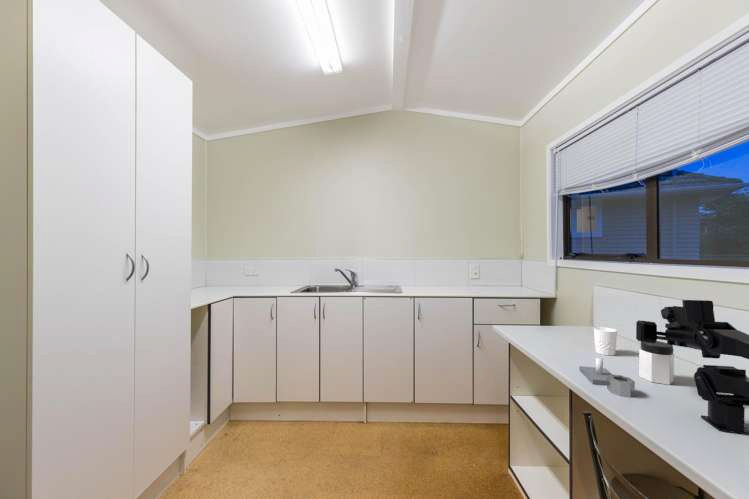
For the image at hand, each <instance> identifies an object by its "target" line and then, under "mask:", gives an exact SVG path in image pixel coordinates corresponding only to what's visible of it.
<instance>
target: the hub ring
mask: <svg viewBox="0 0 749 499" xmlns="http://www.w3.org/2000/svg"><path fill="white" fill-rule="evenodd" d="M635 382H636V381H635V380H633V379H632V378H631V377H628V376H624V375H620V374H613V375H612V373H611V375H608V376H607V386H606V389H607V391H608V392H610V393H611V394H614V395H616V396H619V397H628V398H631V397H634V396H636V393H635V392H636V390H635V389H636V388H635V386H636V385H635V384H636V383H635Z"/></svg>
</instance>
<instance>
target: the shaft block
mask: <svg viewBox="0 0 749 499" xmlns="http://www.w3.org/2000/svg"><path fill="white" fill-rule="evenodd" d="M578 368H579V372H580V373H581V374H582V375H583V376H584V377H585V378H586V379H587V381H589V382H590V383H591V385H597V386H606V387H607V376H608V375H611V374H612V373H611V372H610V371H609V370H608V369H606V368H605V367H604V359H603V358H601V357H596V358H595V367H592V366H583V365H582V366H581V365H580V366H579V367H578ZM612 375H614V373H613V374H612Z"/></svg>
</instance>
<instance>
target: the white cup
mask: <svg viewBox="0 0 749 499" xmlns="http://www.w3.org/2000/svg"><path fill="white" fill-rule="evenodd" d="M617 337H618V330H617V329H615V328H611V327H606V326H605V327H604V326H594V327H593V339H594V340H593V341H594V352H595V353H596V354H599V355H602V356H609V357H610V356H611V357H612V356H615V355H616V352H617V351H616V348H617V341H618V340H617V339H618V338H617Z"/></svg>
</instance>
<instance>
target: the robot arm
mask: <svg viewBox="0 0 749 499" xmlns="http://www.w3.org/2000/svg"><path fill="white" fill-rule="evenodd" d="M681 303H682V306H678V305H673V306H664V308H662V309H661V310H660V314H661V318H662V319H663V320H666V321H667V322H668V323H665V326H664V327H665V331H658V330H657V329H658V326H657V323H656V322H655V321H649V320H648V321H647V320H637V321H636V323H635V324H636V327H635V329H636V330H635V331H636V332H635V335H636V336H635V339H636V340H637V341H638V342H641V341H642V342H649V343H655V342H656V341H658V340H661V341H666V343H667V344H668V345H672V346H675V347H682V348H689V349H693V350H697V351H700V352H701V357H702V358H705V359H720V358H721V355H724V356H732V357H733V356H734V357H740V358H743V359H747V360H749V334H748V333H745V332H743V331H742V330H739V329H737V328H736V327H734V326H733V325H732V324H730V323H729V322H728V321H716V318H715V311H714V302H713V301H712V300H705V299H704V300H701V299H699V300H698V299H695V300H694V299H682V300H681ZM693 374H694V375H693V378H694V379H693V380H694V383H695V386H696V391H697V395H698V396H699V397H701V400H704V401H707V415H703V414H702V415H700V418H701V419H702V420H704V421H705V422H706V423H708V424H710V425H711V426H712V427H714V428H715V429H716V430H718V431H719V432H720V431H721V432H728V433H729V432H730V433H735V434H736V433H737V434H745V435H746V434H747V435H749V429H748V428H746V426H745V406H746V407H748V406H749V377H748V375H747V370H746V369H742V368H741V369H739V368H736V367H735V366H731V365H730V366H729V365H713V364H712V365H711V364H703V365H702V366H699V367H697V368H696V371H695V372H694V373H693ZM719 393H720V394H719ZM721 393H722V394H721Z"/></svg>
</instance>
